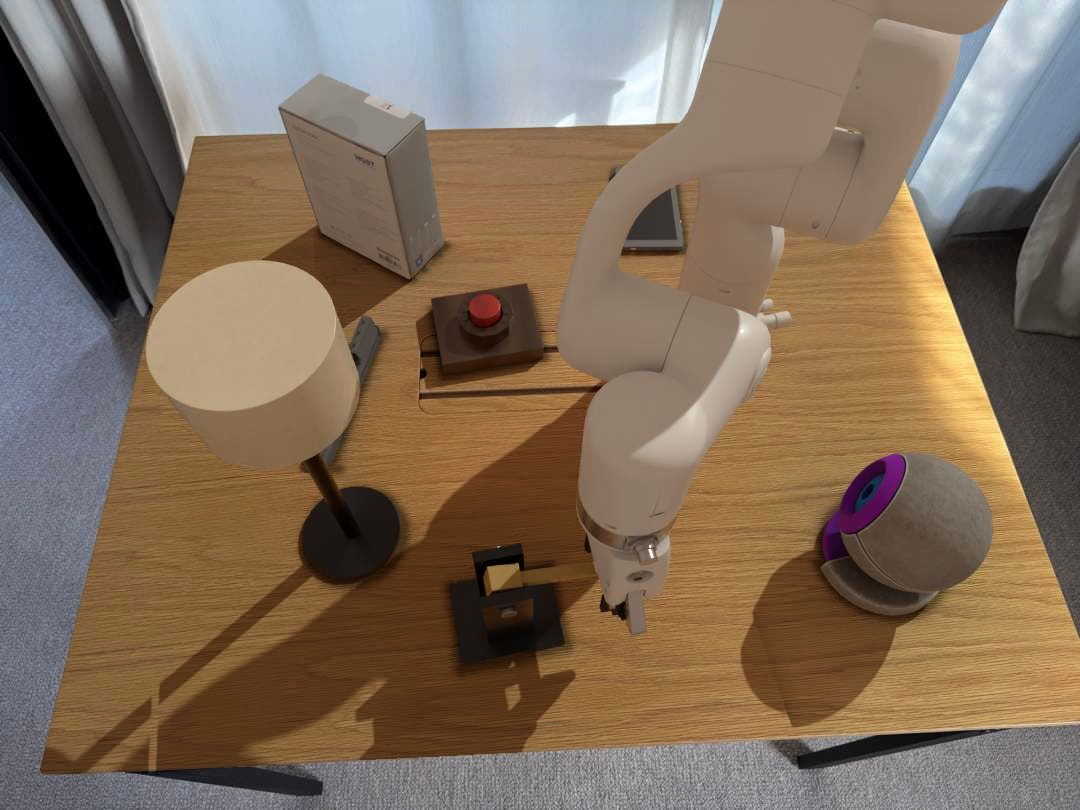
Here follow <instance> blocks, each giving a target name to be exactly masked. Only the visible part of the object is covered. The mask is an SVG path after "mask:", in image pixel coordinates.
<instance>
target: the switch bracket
mask: <svg viewBox="0 0 1080 810" xmlns="http://www.w3.org/2000/svg"><path fill="white" fill-rule="evenodd" d="M471 556H472V557H471V558H472V563H473V568H474V572H475V577H476V578H475V579H469V580H465V581H459V582H454V583H450V584H449V590H450V595H451V596H450V597H451V602H452V609H453V615H454V623H455V628H456V634H457V641H458V647H459V655H460V661H461V665H462V666H467V665H474V664H477V663H478V664H479V663H482V662H487V661H491V660H496V659H501V658H506V657H511V656H516V655H519V654H524V653H529V652H534V651H539V650H543V649H549V648H552V647H557V646H561V645H566V641H565V640H566V638H565V635H564V630H563V626H562V622H561V618H560V613H559V608H558V603H557V599H556V595H555V591H554V585H553V582H552V583H545V584H538V585H530V586H523V587H522V589H518V590H513V591H508V592H503V593H498V594H493V595H488V596H486V590H485V584H484V579H483V576H484V573H485V571H486V569H487V567H489V566H497V565H505V564H513V563H518V564H519V569H520V571H527V570H534V569H542V568H549V565H548V564H544V565H539V566H534V567H529V568H525V551H524V547H523V543H522V542H517V543H511V544H506V545H503V546H502V545H497V546H494V547H493V546H492V547H491V548H486V549H482V550H477V551H472V552H471Z"/></svg>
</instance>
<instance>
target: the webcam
mask: <svg viewBox="0 0 1080 810" xmlns="http://www.w3.org/2000/svg"><path fill="white" fill-rule="evenodd" d="M993 536H994V520H993V515H992V510H991V507H990V505H989V502H988V499H987V497H986V495H985V493H984V492H983V491H982V488H981V487H980V485H978V484H977V482H976V481H975V480H974V479H973V478H972V477H971V475H969V473H967V472H966V471H964V470H963V469H962V468H961V467H959V466H957V465H956V464H955V463H953V462H951V461H948V460H946V459H944V458H942V457H939V456H936V455H932V454H929V453H924V452H923V453H922V452H904V453H894V454H887V455H886V456H883V457H880V458H877V460H875V461H873V462H871V463H869V464H868V465H866V466H865V467H864V468H863V469H862V470H861V471H860V472H859V473H858V474H857V475H856V476H855V478H854V479H853V480H852V481H851V482H850V484H849V486H848V487H847V489H846V490H845V492H844V494H843V496H842V499H841V502H840V505H839V508H838V509H837V510H836V511H835V513H834V514H833V515H832V516H831V517H830V518H829V520H828V521H827V523H826V525H825V527H824V530H823V534H822V551H823V556H824V559H825V563H823V564H822V565H821V566H820V569H821V572H822V573H823V575H824V577H825V578H826V579H827V581H828V583H830V585H831V586H832V587H833V588H834V589H835V590H836V592H838V593H839V595H841V596H842V597H843V598H845V599H846V600H847V601H849V602H850V603H851V604H853V605H855V606H857V607H859V608H861V609H863V610H866V611H869V612H871V613H874V614H879V615H883V616H900V615H901V616H902V615H907V614H911V613H914V612H917V611H919V610H921V609H922V608H924V607H925V606H927V605H928V604H929V603H931V602H932V601H933V600H934V599H935V598H936V597H937V596H938V594H939V593H940V592H941V591H944V590H948V589H950V588H953V587H955V586H957V585H959V584H961V583H963V582H964V581H967V580H968V579H969V578H970V577H971V576H973V574H975V572H977V571H978V570H979V568H980V567H981V566H982V564H983V563H984V561H985V560H986V558H987V556H988V554H989V553H990V552H989V551H990V548H991V546H992V541H993Z"/></svg>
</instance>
